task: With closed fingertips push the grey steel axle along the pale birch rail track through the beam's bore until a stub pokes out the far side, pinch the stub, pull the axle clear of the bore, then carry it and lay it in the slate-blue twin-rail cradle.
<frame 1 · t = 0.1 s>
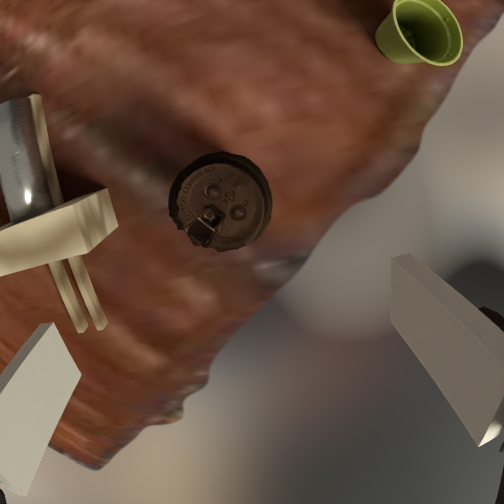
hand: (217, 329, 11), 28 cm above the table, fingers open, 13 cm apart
plant pot: (394, 42, 32), on the table
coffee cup: (223, 183, 37), on the table
axle: (23, 180, 30), point 5 cm above the table, touching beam
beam: (56, 224, 37), on the table
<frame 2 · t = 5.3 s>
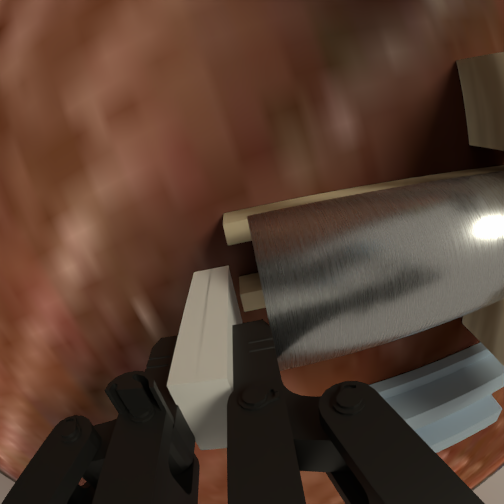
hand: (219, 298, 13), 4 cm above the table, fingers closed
v block: (436, 398, 23), on the table
axle: (467, 243, 12), point 5 cm above the table, touching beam, gripper
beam: (496, 199, 17), on the table
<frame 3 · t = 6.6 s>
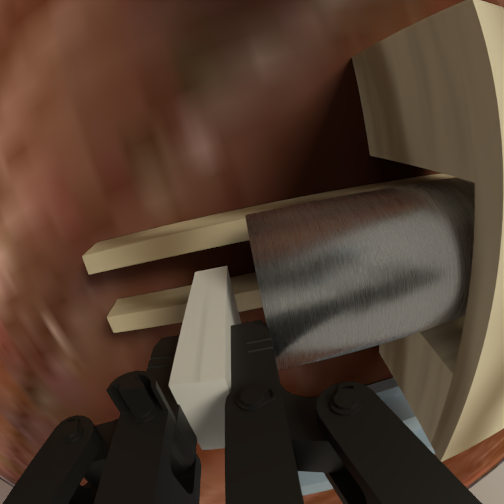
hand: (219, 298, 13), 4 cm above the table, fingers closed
v block: (362, 425, 23), on the table
axle: (467, 243, 12), point 5 cm above the table, touching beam, gripper
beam: (414, 216, 17), on the table
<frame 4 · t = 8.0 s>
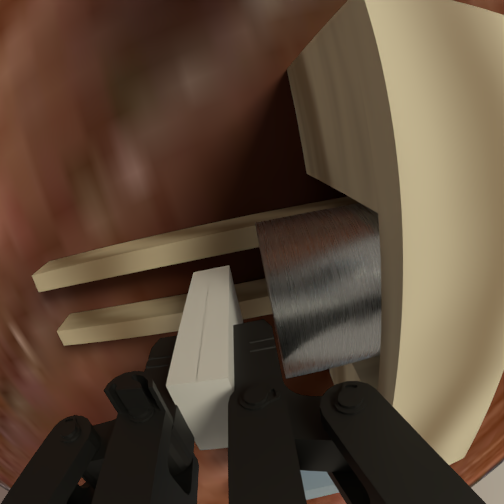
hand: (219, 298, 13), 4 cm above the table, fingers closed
v block: (321, 441, 23), on the table
axle: (473, 251, 12), point 5 cm above the table, touching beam, gripper
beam: (361, 235, 17), on the table
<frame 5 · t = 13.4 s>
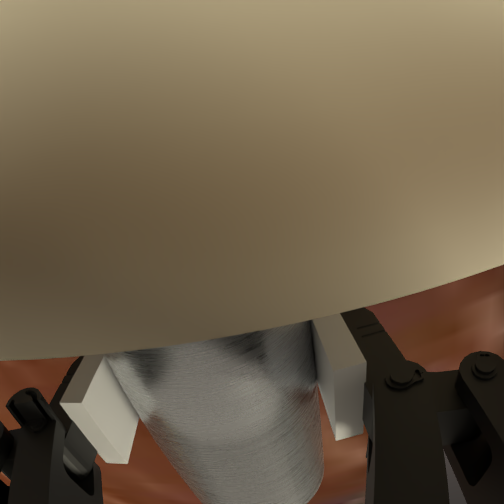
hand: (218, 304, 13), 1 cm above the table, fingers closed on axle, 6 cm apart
axle: (193, 288, 9), point 5 cm above the table, touching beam, gripper
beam: (183, 139, 12), on the table
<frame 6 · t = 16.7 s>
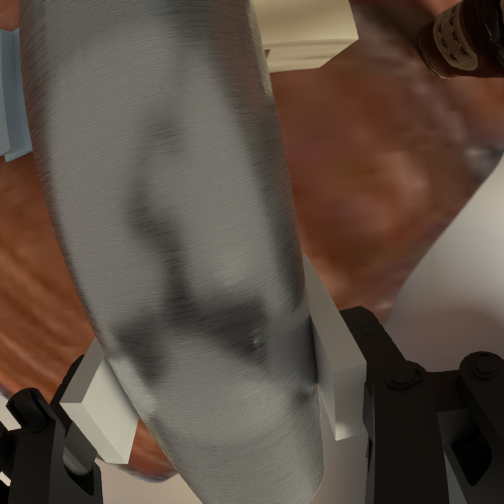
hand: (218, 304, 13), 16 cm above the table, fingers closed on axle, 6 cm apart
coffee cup: (439, 51, 24), on the table
v block: (37, 79, 22), on the table
axle: (194, 289, 9), point 20 cm above the table, touching gripper
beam: (210, 55, 24), on the table
when the fingers open (4 cm above the table, at t = 20.5 s): axle drops 2 cm, resting on v block.
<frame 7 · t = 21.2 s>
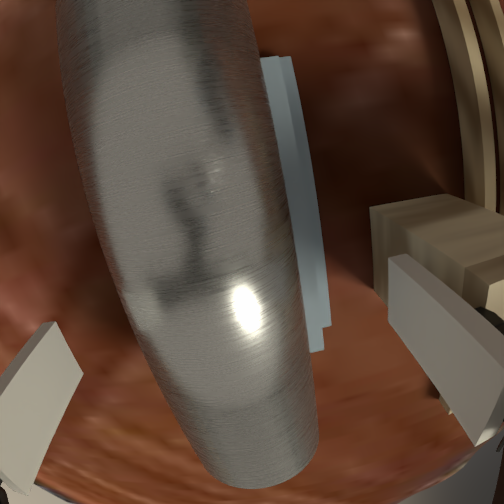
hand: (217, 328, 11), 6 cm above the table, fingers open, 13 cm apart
v block: (213, 217, 16), on the table
axle: (204, 264, 11), point 6 cm above the table, touching v block
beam: (487, 223, 17), on the table
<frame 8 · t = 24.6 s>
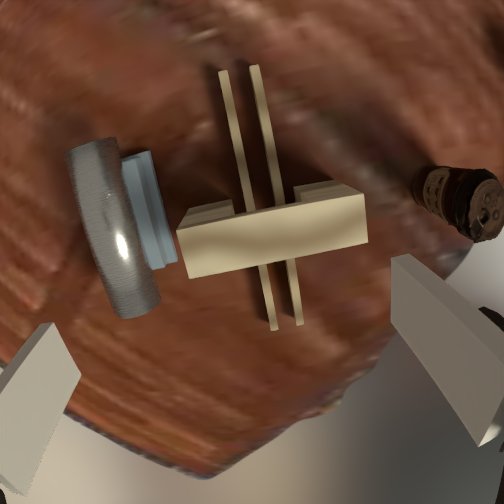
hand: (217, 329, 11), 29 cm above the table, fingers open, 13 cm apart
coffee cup: (428, 187, 39), on the table
v block: (126, 215, 38), on the table
axle: (111, 228, 33), point 6 cm above the table, touching v block
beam: (266, 212, 39), on the table
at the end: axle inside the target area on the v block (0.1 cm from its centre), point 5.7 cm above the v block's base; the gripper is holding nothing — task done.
